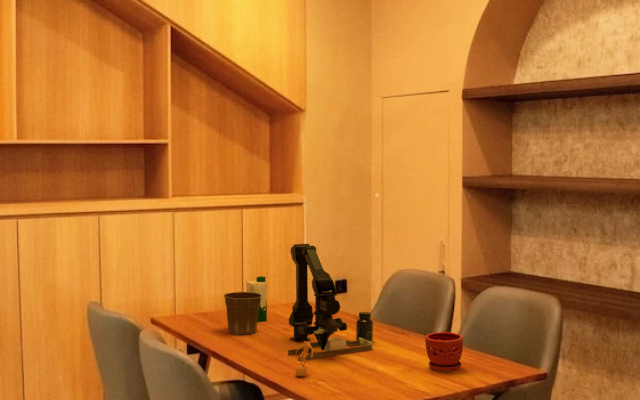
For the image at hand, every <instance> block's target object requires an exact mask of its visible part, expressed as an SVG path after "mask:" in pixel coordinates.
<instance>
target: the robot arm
mask: <svg viewBox="0 0 640 400" xmlns="http://www.w3.org/2000/svg"><path fill="white" fill-rule="evenodd" d="M316 247H317V246H315V245H310V243H295V244H293V245H292V246H291V248H290V254H291V260H292V261H293V263H294V265H295V288H296V289H295V296H296V297H295V298H296V299H295V302H294V303H293V305H292V309H291V313H290V315H289V318H288V324H289V326H291V327H293V336H292V337H290V338H289V339H290V340H293V341H294V342H296V343H297V342H298V343H299V342H304V341H306V342H308V341H311V340H312V339H311V338H310V337H309V336H310V335H314V337H315V339H316V340H317V341H316V342H318V344H319V346H320V347H319V348H320V350H321V351H324V349H325V346H326V343H327V340H328V338H330V336H331V335H333V334H335V333H337V332H338V331H340V332H343V331H348V325H347V323H346V322H345V321H343V319H342V318H341V317H337V318H333V316H335V315H336V314H338V313H339V312H340V310H341V305H340V302H339V301H338V300H337V299H336V296H337V295H338V293H337V287H336V285H335V282H334V279H332V277H331V276H330V273H328V272H327V271H325V270H324V267H323V265H322V263H321V260H320V258H319V255H318V253H317V248H316ZM308 270H309V271H310V273H311V277H312V280H311V288H312V290H313V292H314V294H313V296H314V297H315V300H314V301H315V304H314V305H315V306H314V307H315V308H314V309H315V310H314V311H313V306H312V305H311V304H310V301H309V294H308V293H309V288H308V287H309V284H308V283H309V281H308V280H309V279H308V276H309V274H308ZM314 315H315V317H314Z"/></svg>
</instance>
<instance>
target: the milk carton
mask: <svg viewBox="0 0 640 400" xmlns="http://www.w3.org/2000/svg"><path fill="white" fill-rule="evenodd" d="M245 281H246V280H245ZM245 283H246V285H245V286H246V287H245V289H246V291H245V292H253V293H259V294H261V295H262V297H261V300H260V305H259V312H258V322H257V323H263V322H267V320H268V282H267V281H266V276H263V275H262V276H256V279H255V280H249V281H248V280H247V281H246V282H245Z"/></svg>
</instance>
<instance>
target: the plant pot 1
mask: <svg viewBox="0 0 640 400" xmlns="http://www.w3.org/2000/svg"><path fill="white" fill-rule="evenodd" d="M261 297H262V295H261V294H259V293H253V292H246V291H236V292H228V293H225V294H224V295H223V298H224V302H225V306H226V317H227V331H228V333H230V334H231V335H235V336H245V335H253V334H256V333H257V331H258V330H257V329H258V323H259V322H258V312H259V305H260V300H261Z"/></svg>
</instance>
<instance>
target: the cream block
mask: <svg viewBox="0 0 640 400" xmlns="http://www.w3.org/2000/svg"><path fill="white" fill-rule="evenodd" d="M346 340H347V339H346V338H343V337H341V336H337V337H329V338H328V340H327V343H326V346H325V349H324V350H323V352H325V351H332V350H339V349H345V348H347V345H346Z"/></svg>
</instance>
